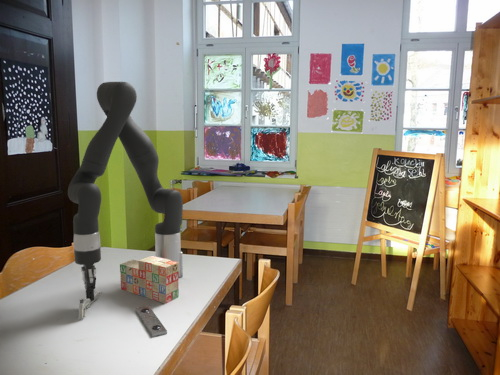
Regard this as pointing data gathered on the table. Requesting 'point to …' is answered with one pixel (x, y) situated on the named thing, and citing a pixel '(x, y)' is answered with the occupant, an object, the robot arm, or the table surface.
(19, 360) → the table surface
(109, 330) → the table surface
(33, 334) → the table surface
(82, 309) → the caliper
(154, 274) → the stack of blocks
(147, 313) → the bolt strip
